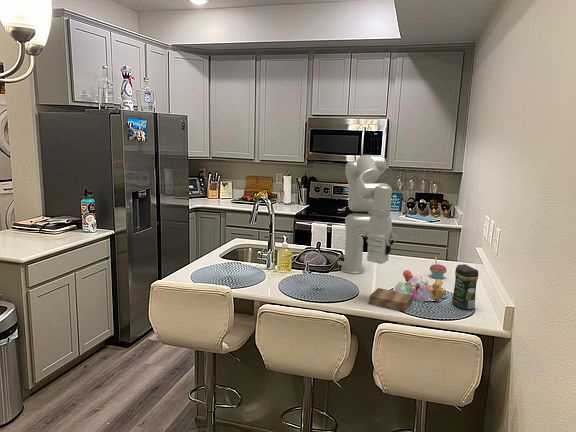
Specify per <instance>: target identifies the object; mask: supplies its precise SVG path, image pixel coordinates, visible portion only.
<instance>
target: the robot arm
mask: <svg viewBox="0 0 576 432" xmlns="http://www.w3.org/2000/svg"><path fill="white" fill-rule="evenodd" d="M386 169H387V159H386V158H385V156H383V155H378V154H375V155H374V154H362V155H360V156H359V157H358V158H357V160H350V161H348V162H347V163H346V165H345V169H344V170H345V177H346V180H347V184H348V197H347V199H348V201H347V205H348V208H349V210H350V211H352V212H367V213H350V214H348V215H347V216H346V217H345V219H344V225H345V247H344V260H337V265H338V266H341V268H340V270H341V271H342V272H343V273H346V274H352V275H359V274H363V273H365V268H364V267H362V266H363V252H364V251H363V250H364V241H366V249H367V250H368V238H369V234H376V235H382V236H385V241H386V243H387V246H386V255H388V254H389V255H390V253H391V249H392V248H391V247H392V245H394V244H395V243H396V242H397V240H398V239H399V236H397V235H396V234H395V233H394V232H393V222H392V221H393V220H392V217H391V205H392V193H393V189H392V187H391V186H390V185H389V184H388V183H386V182H385V183H382V182H377V181H378V179H379V178H380V176H381V175H382V174H383V173H384V172H385V171H386ZM392 238H393V239H392ZM391 239H392V240H391Z"/></svg>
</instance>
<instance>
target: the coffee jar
mask: <svg viewBox="0 0 576 432" xmlns="http://www.w3.org/2000/svg"><path fill="white" fill-rule="evenodd" d="M454 274H455V278H454V279H455V281H454V287H453V293H452V300H451V303H452V304H453V305H454V306H455V305H456V307H457V308H459V307H460V308H459V309H461V308H462V310H466V309H470V310H473V309H475V307H476V290H477V283H478V279H479V270H477V269H476V268H474V267H471V266H470V265H467V264H466V263H465V264H464V263H463V264H458V265H456V267H455V273H454Z"/></svg>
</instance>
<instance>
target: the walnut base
mask: <svg viewBox="0 0 576 432" xmlns="http://www.w3.org/2000/svg"><path fill="white" fill-rule="evenodd" d="M368 299H369V300H368V305H371V306H374V307H378V308H379V307H380V308H384V309H389V310H393V311H397V312H401V311H403V312H402V313H406V312H407V311H406V310H409V308H410V307H411V306H412V304H413V301H414V300H413V295H410V294H405V293H401V292H396V291H394V290H391V289H390V290H389V289H387V288H385V289H384V288H380V287H379V288H377V289H375V290H374V291H373V292H372V293H371V294H370V295H369V297H368ZM410 305H411V306H410ZM409 306H410V307H409ZM408 307H409V308H408ZM405 311H406V312H405Z"/></svg>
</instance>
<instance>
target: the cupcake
mask: <svg viewBox="0 0 576 432" xmlns="http://www.w3.org/2000/svg"><path fill="white" fill-rule="evenodd" d="M434 260H435V264H431V265H430V266H429V271H430V272H431V275H432V278H433V279H435V280H436V279H439V280H441V279H443V276H444V275H445V273H447V271H448V270H447V268H446V267H445V265H443V264H439V263H437V261H438V260H437V256H436V255H434Z"/></svg>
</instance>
